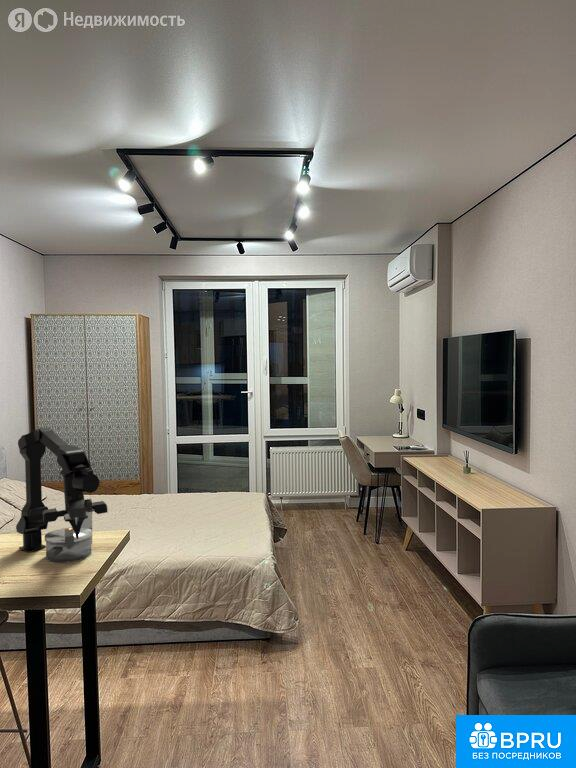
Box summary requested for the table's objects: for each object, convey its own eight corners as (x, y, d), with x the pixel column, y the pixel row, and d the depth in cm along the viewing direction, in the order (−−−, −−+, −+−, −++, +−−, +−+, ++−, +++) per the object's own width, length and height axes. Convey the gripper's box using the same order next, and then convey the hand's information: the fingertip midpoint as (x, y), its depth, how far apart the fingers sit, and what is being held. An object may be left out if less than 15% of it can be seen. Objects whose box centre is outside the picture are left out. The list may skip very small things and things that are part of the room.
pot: (59, 548, 198) (59, 530, 197) (98, 548, 196) (98, 531, 196) (28, 568, 178) (28, 549, 178) (71, 569, 177) (71, 550, 177)
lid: (45, 533, 194) (44, 521, 194) (91, 528, 199) (90, 516, 199) (43, 552, 174) (43, 539, 174) (94, 546, 179) (94, 533, 179)
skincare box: (75, 547, 199) (74, 512, 198) (72, 543, 202) (71, 509, 202) (93, 543, 202) (92, 509, 201) (90, 540, 206) (89, 507, 205)
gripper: (43, 499, 168) (47, 551, 169) (108, 489, 176) (112, 539, 177) (40, 492, 178) (44, 541, 179) (102, 483, 186) (106, 530, 187)
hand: (77, 538), depth 180 cm, fingers closed
